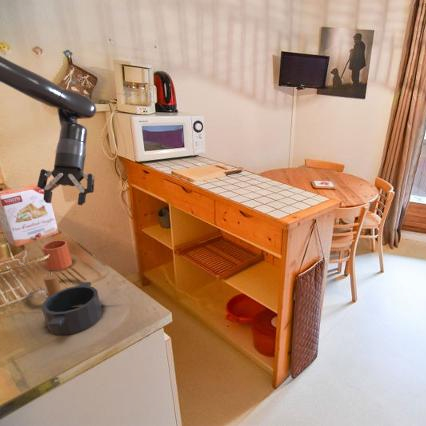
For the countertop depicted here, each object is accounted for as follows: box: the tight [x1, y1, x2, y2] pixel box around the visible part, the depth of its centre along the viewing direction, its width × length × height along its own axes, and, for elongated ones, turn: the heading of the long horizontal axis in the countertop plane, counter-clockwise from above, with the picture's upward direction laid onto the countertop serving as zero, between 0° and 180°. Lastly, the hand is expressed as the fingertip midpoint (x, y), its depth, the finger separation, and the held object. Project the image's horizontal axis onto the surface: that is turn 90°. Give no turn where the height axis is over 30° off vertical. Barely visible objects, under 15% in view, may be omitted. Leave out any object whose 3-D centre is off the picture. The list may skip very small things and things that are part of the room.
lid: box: [43, 273, 62, 297], centre depth 92 cm, size 13×13×7 cm
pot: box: [41, 281, 103, 337], centre depth 85 cm, size 12×17×7 cm
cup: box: [41, 239, 73, 271], centre depth 105 cm, size 6×6×9 cm
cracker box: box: [0, 183, 60, 248], centre depth 117 cm, size 14×6×21 cm, turn 154°
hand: (64, 203), depth 101 cm, fingers open, 8 cm apart
